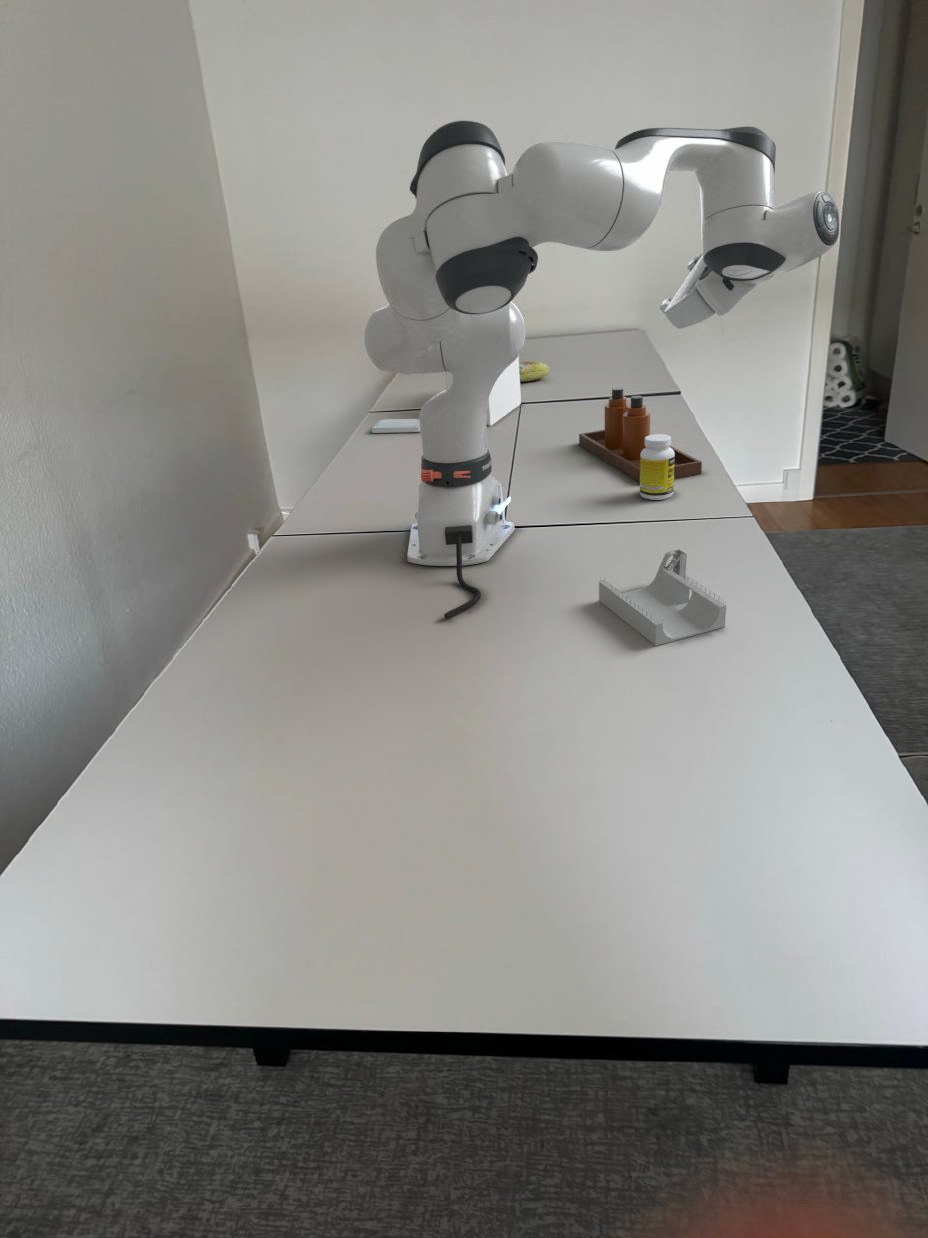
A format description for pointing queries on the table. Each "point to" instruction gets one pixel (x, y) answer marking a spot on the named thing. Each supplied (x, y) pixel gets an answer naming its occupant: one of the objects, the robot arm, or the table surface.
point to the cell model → (532, 370)
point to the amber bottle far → (615, 419)
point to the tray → (596, 445)
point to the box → (500, 393)
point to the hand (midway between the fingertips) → (677, 287)
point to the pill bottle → (657, 468)
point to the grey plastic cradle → (666, 604)
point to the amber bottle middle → (635, 428)
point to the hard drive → (396, 426)
